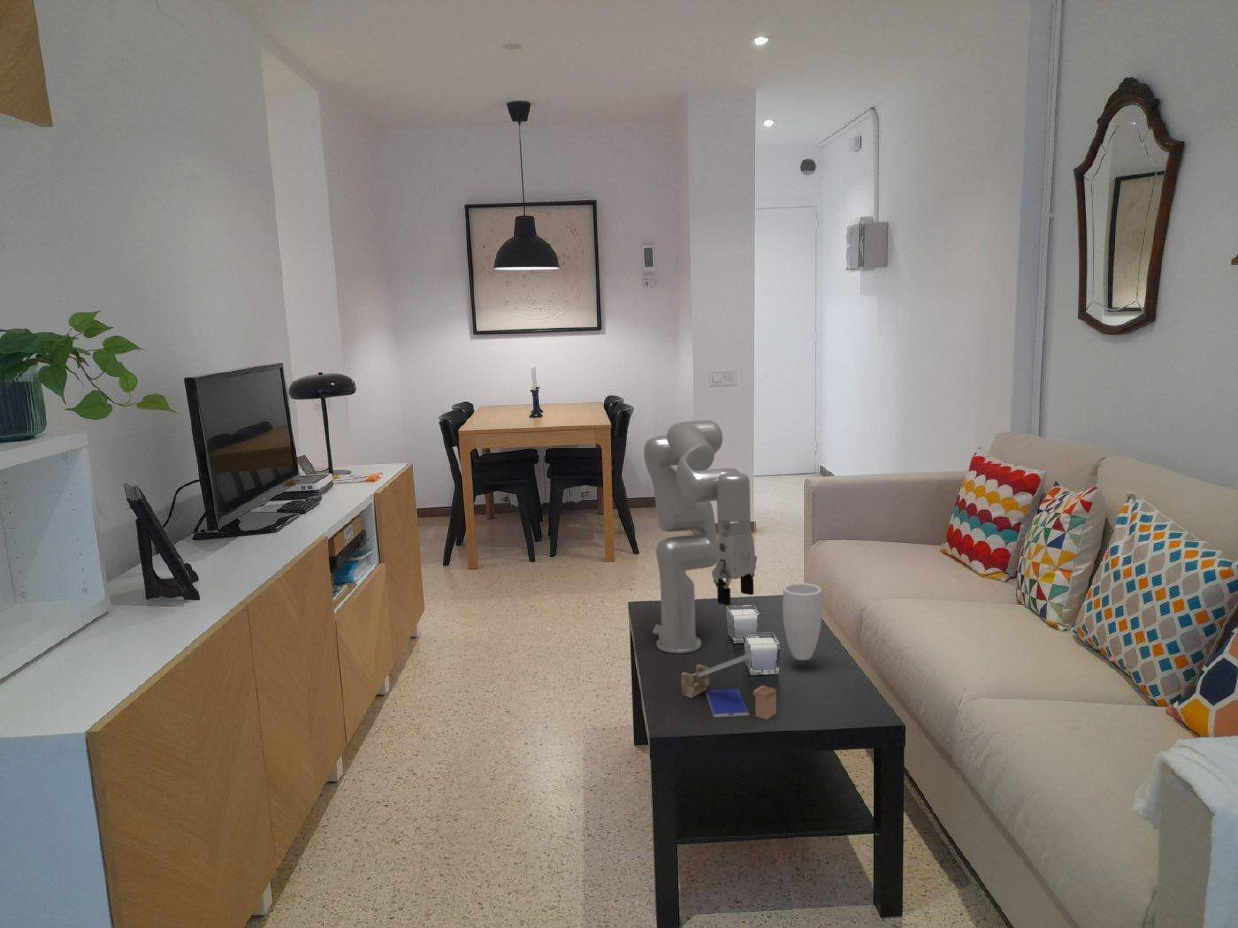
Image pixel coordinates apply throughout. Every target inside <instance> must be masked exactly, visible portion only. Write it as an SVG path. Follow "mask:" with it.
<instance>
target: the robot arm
mask: <svg viewBox="0 0 1238 928" xmlns="http://www.w3.org/2000/svg"><path fill="white" fill-rule="evenodd" d="M723 439H724V438H723V431H722V428H720V426H719V424H718V423H716V422H715V421H713V420H707V419H706V420H693V421H692V420H690V421H681V422H677V423H675V424H673V425H672V426H670V427H669V429H668V431H667V433H666V435H665V434H664V435H658V436H655V437H652V438H649V439H648V440H646V443H645V444H644V449H643V457H644V458H643V459H644V463H645V467H646V469H647V471H648V475H649V476H650V479H651V481H652V486H653V493H654V501H655V507H656V508H655V509H656V510H655V511H656V518H657V524H658V526H659V529H660V530H662V531H663V532H666V533H676V532H686V531H696V534H691V535H689V534H688V535H680V536H671V537H670V536H669V537H666V538H664V539H662V540H660V541H659V542H658V543H657V545H656V550H655V555H656V560H657V561H656V562H657V566H658V572H659V583H660V585H659V586H660V612H661V613H660V614H661V616H660V617H661V618H660V619H661V621H660V622H661V625H660V624H657V623H656V624H655V626H654V628H653V630H652V634H655V635H657V636H658V639H657V640H656V647H657V648H658V649H659V650H660V651H662V652H665V653H670V654H686V653H693V652H695V651H697V650H698V649H700V648H701V646H702V641H701V639H700V638H699V637H697V636H696V608H695V607H696V602H695V601H696V595H695V583H694V582H693V580H692V579H691V578H690V577H689V576H688V574H687V573H686V571H691V570H697V569H698V570H699V569H705V568H707V569H708V568H712V567H714V566H715V565H716V566H715V567H714V569H712V571H711V575H712V578H713V583H714V584H715V587H716V591H717V592H716V593H717V594H716V595H717V603H718V604H719V605H723V606H724V605H725V606H731V605H732V603H731V597H732V596H731V587H729V586H730V584H731V581H732V579H733V580H736V579H739V578H740V593H741V594H745V595H750V596H752V595H754V594H755V592H754V578H755V570H756V568H757V566H756V565H757V561H758V560H757V559H758V556H757V555H756V552H755V550H756V549H755V543H754V542H755V541H754V536H753V532H752V528H751V493H750V491H751V490H750V488H751V487H750V486H751V484H750V483H751V482H750V478H749V476H748V475H747V474H745V473H742V472H740V471H739V470H738V469H736V468H732V467H731V468H730V467H728V468H713V469H712V468H711V469H709V468H710V467H711V466H712V465H713V462H714V460H715V455H716V453H718V451H719V450H720V449H721V447H722V445H723ZM672 466H677V467H676V469H674V467H672ZM711 502H716V512H717V516H716V517H717V526H716V520H715V513H714V508H713V504H712V503H711ZM724 579H725V580H724Z"/></svg>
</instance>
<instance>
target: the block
mask: <svg viewBox="0 0 1238 928" xmlns="http://www.w3.org/2000/svg"><path fill="white" fill-rule="evenodd" d="M752 691H753V692H752V695H753V696H755V717H757V718H760V719H763V720H765V719H766V720H765V721H767V720H769V719H770V718H772V717H773V716H775V715H776V714H777V688H773V687H769V686H766V685H760V686H759V687H758V688H755V689H754V690H752Z"/></svg>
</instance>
